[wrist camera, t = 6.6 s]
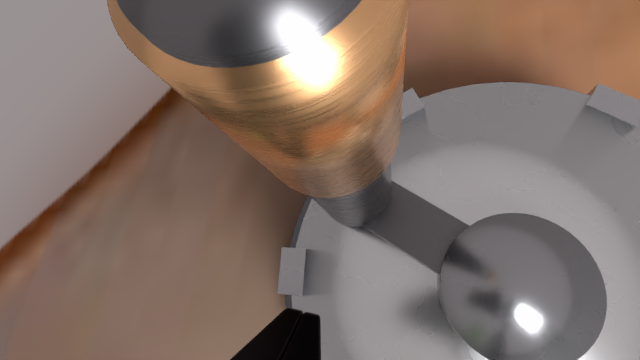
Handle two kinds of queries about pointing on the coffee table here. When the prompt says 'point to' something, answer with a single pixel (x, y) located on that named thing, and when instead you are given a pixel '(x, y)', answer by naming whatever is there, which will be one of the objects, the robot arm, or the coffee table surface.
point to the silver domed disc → (418, 182)
